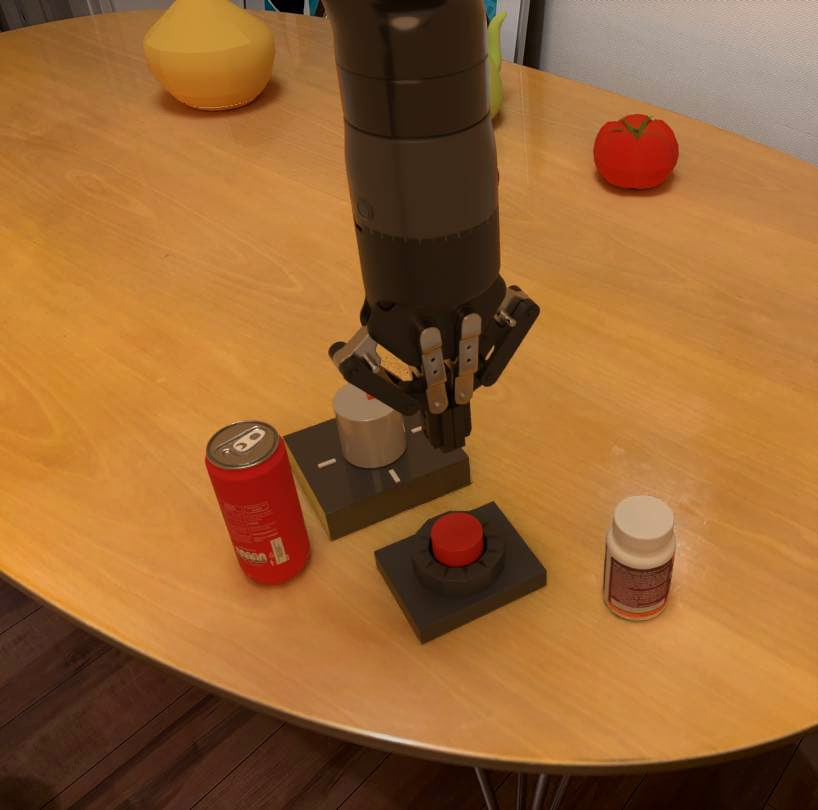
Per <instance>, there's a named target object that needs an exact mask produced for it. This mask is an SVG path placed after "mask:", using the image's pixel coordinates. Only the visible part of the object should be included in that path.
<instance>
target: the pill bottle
mask: <svg viewBox="0 0 818 810" xmlns="http://www.w3.org/2000/svg"><path fill="white" fill-rule="evenodd" d="M612 516H613V517H612V523H611V525H609V527H608V530H607V531H606V534H605V546H604V547H605V549H604V563H603V577H602V578H603V579H602V596H603V600H604V602H605V604H606V606H607V607H608V609H609V610H610V611H611V612H612V613H614V614H615V615H616V616H618V617H620V618H622V619H624V620H628V621H638V622H639V621H646V620H650V619H653V618H656V617H657V616H659V615H660V614H661V613H662V612H663V611H664V610H665V609H666V606H667V604H668V601H669V597H670V592H671V591H670V590H671V584H672V578H673V572H674V564H675V558H676V551H677V538H676V537H677V536H676V534H675V532H674V531H675V530H674V529H675V528H674V527H675V515H674V512H673V510H672V509H671V507H670V506H669V505H668V504H667V503H666V502H665V501H664V500H662V499H660V498H658V497H655V496H651V495H646V494H637V495H632V496H628V497H625V498H624V499H622V500H621V501H620V502H619V503H618V504H617V505H616V507H615V508H614V511H613V515H612Z"/></svg>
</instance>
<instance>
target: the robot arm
mask: <svg viewBox="0 0 818 810" xmlns="http://www.w3.org/2000/svg"><path fill="white" fill-rule="evenodd" d="M320 1H321V3H322V6H323V8H324V10H325V13H326V15H327V19H328V22H329V25H330V29H331V36H332V46H333V47H332V48H333V55H334V62H335V69H336V76H337V83H338V90H339V97H340V102H341V109H342V115H343V117H342V118H343V127H344V128H343V129H344V130H343V132H344V145H343V146H344V147H343V149H344V164H345V173H346V180H347V187H348V192H349V199H350V206H351V213H352V219H353V226H354V231H355V232H354V233H355V238H356V244H357V250H358V258H359V265H360V271H361V278H362V279H361V280H362V284H363V289H364V300H363V303H362V306H361V309H360V312H359V322H360V325H361V326H360V328H359V329H358V330H357V331H356V332H355V334H354V335H353V336H352V337H351V338H350V339H349V340H348V341H347V342H345V341H336V342H334V343H332V344H331V345H330V346H329V348H328V351H327V354H328V355H327V356H328V357H329V358H330V360H331V361H332V363H333V365H334V366H335V368H336V369H337V371H338V372H339V373H340V375H341V376H342V377H343V379H344V381H346V382H347V383H350V384H352V385H354V386H355V387H357V388H359V389H360V390H362V391H364V392H365V393H367V394H369V395H370V396H372V397H374V398H375V399H377V400H379V401H381V402H382V403H384V404H386V405H387V406H389V407H391V408H392V409H394V410H396V411H397V412H399V413H401V414H402V415H404V416H412V415H414V414H415V413H417V412H418V410H419V412H420V419H421V429H422V432H423V434H424V435H425V437H426V438H427V439H428V441H429V442H430V443H431V445H432V446H433V447H434V449H437V448H439V449H440V450H441V452H442V453H443V454H446V453H448V452H451V451H454V450H456V449H459V448H464V447H465V446H466V438H468V437H470V436H471V433H472V430H473V425H472V409H471V400H472V398H473V397H474V396H473V395H474V392H475V391H476V390H478V389H479V388H481V387H485V388H490V387H492V386H494V385H495V384H496V383H497V382H498V380H499V378H500V377H501V375H502V374H503V372H504V371H505V369H506V367H508V364H509V363H510V361H511V360H512V359H513V357H514V355H515V354H516V352H517V351H518V349H519V347H520V346H521V344H522V343H523V341H524V339H525V338H526V336H527V335H528V333H529V332H530V331H531V328H532V327H533V325H534V324H535V323H536V321H537V319H538V318H539V316H540V313H541V307H540V306H539V305H538V304H537V303H536V302H535V301H534V300H533V298H531V297H530V296H529V295H528V294H527V293H526V292H525V291H524V290H523V289H522V288H521V287H519V286H518V285H516V284H512V285H511V284H510V285H509V286H507V284H506V281H505V279H504V278H503V276H502V274H500V272H501V265H502V263H501V261H502V260H501V259H502V258H501V230H500V199H499V197H500V196H499V185H500V170H499V167H498V165H499V164H498V150H497V142H496V135H495V132H494V127H493V121H492V120H493V119H491V109H490V89H489V61H488V19H487V12H486V6H485V3H484V0H320ZM377 346H381V347H382V348H383V349H385V350H386V351H387V352H389V353H390V354H391V355H393V356H394V357H396V359H399V361H401V362H402V363H404V364H405V365H407V368H408V371H409V375H410V379H409V380H403V379H402V377H400V376H398V375H396V374H395V373H393V372H392V371H390V370H389V369H387V368H386V367H384V366H383V365H381V364H382V358H381V356H380V355H379V353H378V352H377V348H378V347H377ZM492 349H493V350H492ZM491 350H492V352H491ZM490 352H491V353H490ZM489 354H490V355H489ZM487 357H488V358H487Z"/></svg>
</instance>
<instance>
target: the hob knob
mask: <svg viewBox="0 0 818 810" xmlns="http://www.w3.org/2000/svg"><path fill="white" fill-rule="evenodd" d="M332 409H333V413H334V418H335V419H336V425H337V430H338V435H339V440H340V445H341V450H342V454H343V456H344V458H345V459H346V460H347V461H348V462H349V463H351V464H353V465H355V466H358V467H362V468H378V467H382V466H386V465H388V464H391V463H393V462H394V461H396V460H397V459H398V458H400V456H401V455H402V454H403V453H404V451H405V449H406V446H407V439H406V431H405V424H404V416H403V415H402V414H401V413H399V412H397V411H396V410H394V409H392V408H391V407H389V406H387V405H386V404H384V403H382V402H381V401H379V400H377V399H375V398H374V397H372V396H370V395H369V394H367V393H365V392H364V391H362V390H360V389H359V388H357V387H355V386H354V385H352V384H350V383H349V382H347V383H346V384H344V385H343V386H341V387H340V388H339V389H337V391H336V392H335V393H334V396H333V398H332Z"/></svg>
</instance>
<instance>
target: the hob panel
mask: <svg viewBox="0 0 818 810" xmlns="http://www.w3.org/2000/svg"><path fill="white" fill-rule="evenodd" d="M403 416H404V415H403ZM404 424H405V431H406V439H407V446H406V449H405V451H404V453H403V454H402V455H401V456H400V458H398V459H397V460H396V461H394V462H393V463H391V464H388V465H386V466H382V467H378V468H362V467H358V466H355V465H353V464H351V463H349V462H348V461H347V460H346V459H345V458H344V456H343V454H342V450H341V445H340V440H339V435H338V430H337V425H336V419H335V417H333V418H329V419H327V420H324V421H321V422H319V423H315V424H313V425H311V426H307V427H305V428H302V429H299V430H296V431H293V432H291V433H288V434H284V435H282V438H283V440H284V442H285V446H286V450H287V454H288V458H289V462H290V466H291V470H292V472H294V474H295V476H296V478H297V480H298V482H299V484H300V485H301V488H302V489H303V491H304V493H305V495H306V496H307V499H308V501H309V502H310V504H311V506H312V508H313V510H314V512H315V514H316V515H317V517H318V519H319V521H320V522H321V525H322V526H323V528H324V530H325V532H326V534H327V536H328V537H329V539H330V541H334V540H337V539H339V538H341V537H344V536H347V535H349V534H351V533H354V532H356V531H359V530H362V529H363V528H366V527H369V526H371V525H373V524H376V523H378V522H380V521H381V522H382V521H383V520H386V519H388V518H391V517H393V516H395V515H398V514H400V513H403V512H405V511H407V510H410V509H412V508H415V507H418V506H420V505H422V504H425V503H427V502H430V501H431V500H435V499H437V498H439V497H442V496H444V495H446V494H449V493H452V492H454V491H456V490H459V489H461V488H464V487H466V486H469V485H471V484H472V480H471V478H472V477H471V466H470V457H469V455H468V454H467V453H466V451H465V449H463V447H461V448H459V449H456V450H454V451H451V452H448V453H446V454H443V453H442V452H441V450H440V449H439V448H437V449H434V447H433V446H432V445H431V443H430V442H429V441H428V439H427V438H426V437H425V435H424V434H423V432H422V429H421V419H420V412H419V410H418V412H417V413H415V414H414V415H412V416H404Z"/></svg>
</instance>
